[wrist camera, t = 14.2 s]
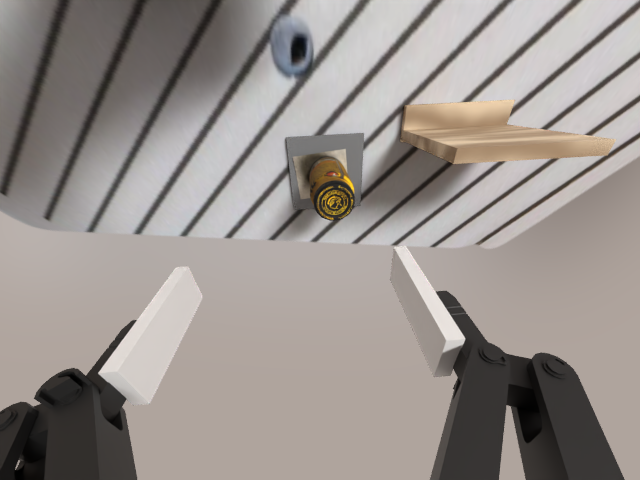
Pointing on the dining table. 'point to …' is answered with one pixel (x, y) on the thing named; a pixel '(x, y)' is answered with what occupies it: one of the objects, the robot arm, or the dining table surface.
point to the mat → (324, 144)
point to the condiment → (326, 183)
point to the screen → (489, 134)
